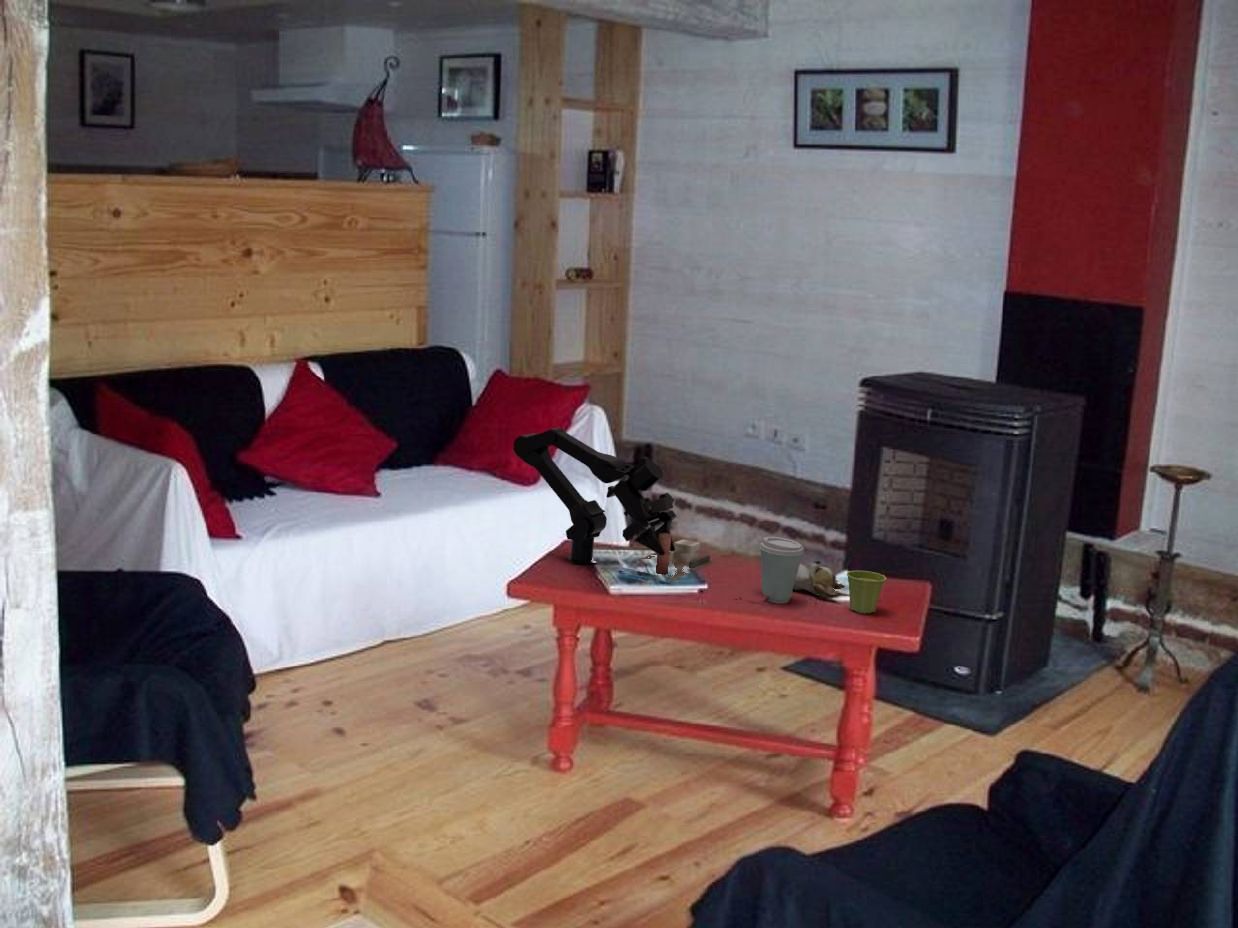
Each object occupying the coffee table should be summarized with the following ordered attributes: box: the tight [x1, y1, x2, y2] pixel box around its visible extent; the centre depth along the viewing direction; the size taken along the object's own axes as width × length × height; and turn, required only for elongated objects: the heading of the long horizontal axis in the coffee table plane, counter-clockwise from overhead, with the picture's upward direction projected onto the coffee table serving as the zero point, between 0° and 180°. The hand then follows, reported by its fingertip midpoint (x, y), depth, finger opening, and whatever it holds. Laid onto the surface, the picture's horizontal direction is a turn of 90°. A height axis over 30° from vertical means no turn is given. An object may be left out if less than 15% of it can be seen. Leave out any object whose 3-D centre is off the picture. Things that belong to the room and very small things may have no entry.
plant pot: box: [846, 570, 887, 614], centre depth 343 cm, size 9×9×9 cm
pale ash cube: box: [673, 538, 701, 565], centre depth 370 cm, size 5×5×5 cm
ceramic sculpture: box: [793, 560, 845, 599], centre depth 355 cm, size 11×9×15 cm
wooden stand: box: [637, 533, 716, 581], centre depth 365 cm, size 16×24×11 cm, turn 151°
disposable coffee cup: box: [759, 536, 805, 605], centre depth 345 cm, size 11×11×15 cm
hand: (668, 552), depth 355 cm, fingers open, 5 cm apart
